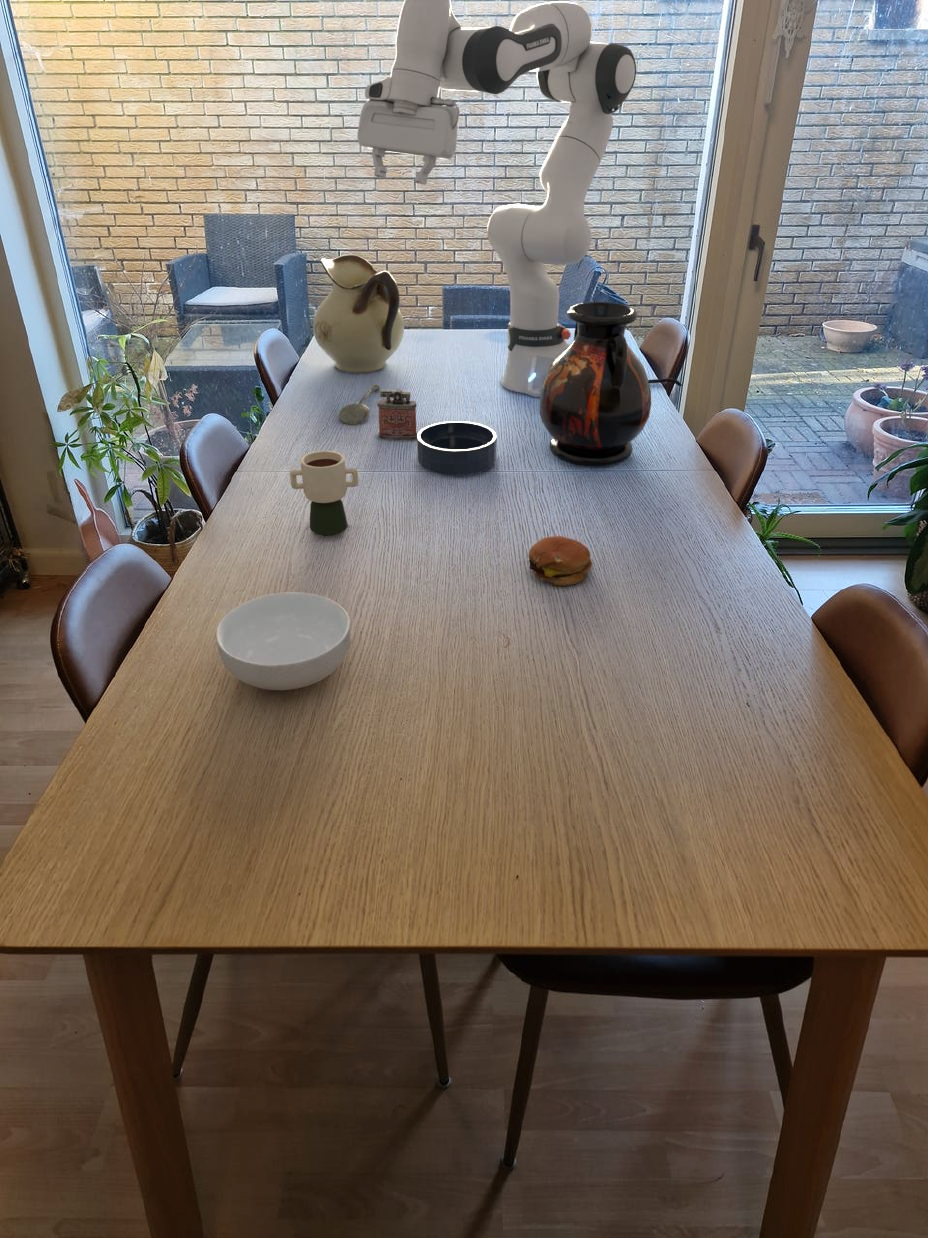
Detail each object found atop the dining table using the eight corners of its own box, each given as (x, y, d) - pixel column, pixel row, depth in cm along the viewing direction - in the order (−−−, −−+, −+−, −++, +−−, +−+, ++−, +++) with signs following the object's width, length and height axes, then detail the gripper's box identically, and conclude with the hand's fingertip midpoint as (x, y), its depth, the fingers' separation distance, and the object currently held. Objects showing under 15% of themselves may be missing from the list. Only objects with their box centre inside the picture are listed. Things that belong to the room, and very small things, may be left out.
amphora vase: (520, 440, 183) (526, 299, 167) (615, 428, 188) (628, 291, 173) (562, 481, 165) (572, 329, 150) (664, 467, 171) (684, 319, 156)
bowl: (490, 445, 180) (491, 420, 177) (500, 476, 167) (501, 449, 164) (416, 448, 179) (415, 422, 176) (420, 479, 166) (419, 452, 163)
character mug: (361, 520, 152) (357, 449, 145) (361, 539, 146) (356, 466, 139) (297, 522, 151) (289, 451, 144) (294, 542, 145) (286, 468, 138)
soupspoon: (334, 425, 191) (364, 429, 190) (334, 411, 189) (363, 414, 188) (363, 389, 208) (390, 392, 208) (363, 375, 206) (390, 378, 206)
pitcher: (330, 351, 235) (322, 250, 221) (417, 355, 232) (415, 253, 218) (305, 377, 216) (295, 269, 202) (400, 382, 213) (396, 273, 200)
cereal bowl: (294, 727, 106) (288, 680, 102) (195, 682, 113) (186, 637, 109) (379, 657, 118) (376, 613, 114) (284, 621, 125) (279, 578, 122)
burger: (579, 554, 142) (581, 528, 139) (598, 583, 134) (600, 556, 132) (520, 560, 140) (521, 534, 138) (535, 590, 133) (536, 563, 130)
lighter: (418, 435, 185) (417, 388, 179) (416, 441, 182) (414, 393, 177) (380, 433, 185) (378, 386, 180) (377, 439, 183) (375, 392, 177)
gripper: (470, 105, 155) (455, 191, 160) (380, 95, 164) (368, 177, 169) (450, 95, 150) (435, 183, 154) (358, 85, 159) (346, 169, 164)
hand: (399, 180), depth 162 cm, fingers open, 8 cm apart
